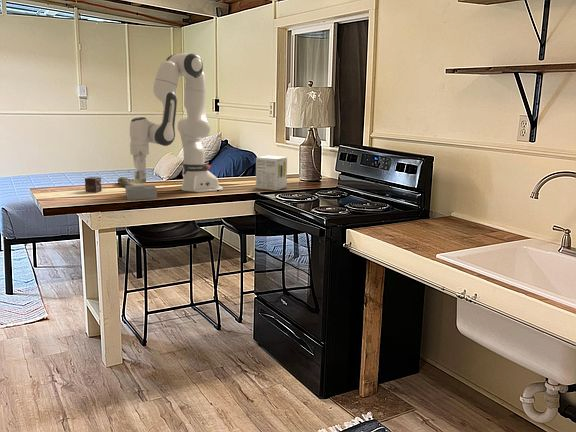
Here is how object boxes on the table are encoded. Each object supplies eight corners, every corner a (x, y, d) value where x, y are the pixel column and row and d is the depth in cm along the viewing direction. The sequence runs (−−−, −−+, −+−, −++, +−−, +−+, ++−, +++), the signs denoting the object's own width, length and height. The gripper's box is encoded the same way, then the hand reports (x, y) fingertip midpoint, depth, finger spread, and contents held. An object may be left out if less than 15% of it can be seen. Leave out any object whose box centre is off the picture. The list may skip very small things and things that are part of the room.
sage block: (144, 181, 282) (144, 171, 281) (146, 183, 278) (145, 173, 277) (134, 181, 281) (134, 171, 280) (135, 183, 276) (135, 173, 275)
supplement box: (276, 190, 308) (276, 158, 305) (255, 188, 314) (255, 157, 311) (287, 187, 320) (287, 156, 316) (266, 185, 326) (267, 155, 322)
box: (95, 193, 290) (95, 178, 289) (85, 192, 291) (84, 178, 290) (101, 191, 296) (101, 177, 294) (91, 190, 297) (90, 176, 296)
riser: (153, 194, 289) (153, 184, 288) (157, 198, 278) (156, 188, 277) (125, 195, 284) (125, 185, 283) (127, 199, 273) (127, 189, 272)
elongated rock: (136, 195, 294) (154, 195, 300) (137, 185, 293) (155, 185, 299) (113, 183, 321) (129, 182, 327) (113, 173, 320) (130, 173, 326)
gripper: (148, 152, 268) (149, 181, 271) (143, 148, 286) (144, 175, 289) (135, 152, 266) (135, 181, 268) (131, 148, 284) (131, 176, 287)
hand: (140, 178), depth 279 cm, fingers closed on sage block, 5 cm apart
